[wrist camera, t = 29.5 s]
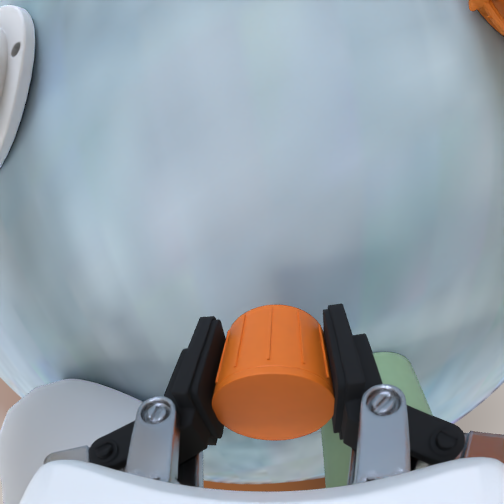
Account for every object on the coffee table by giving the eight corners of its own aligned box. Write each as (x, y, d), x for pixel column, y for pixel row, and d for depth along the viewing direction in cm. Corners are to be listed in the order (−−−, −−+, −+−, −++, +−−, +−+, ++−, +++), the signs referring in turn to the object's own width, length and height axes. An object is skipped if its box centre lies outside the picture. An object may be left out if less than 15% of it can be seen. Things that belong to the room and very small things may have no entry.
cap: (334, 362, 11) (345, 427, 8) (250, 383, 12) (242, 445, 9) (308, 290, 10) (319, 358, 7) (210, 320, 11) (188, 386, 8)
